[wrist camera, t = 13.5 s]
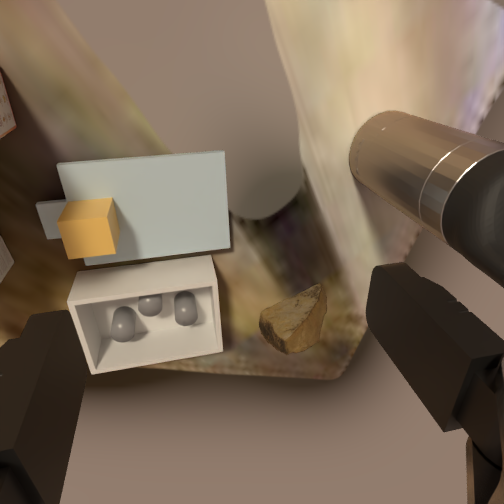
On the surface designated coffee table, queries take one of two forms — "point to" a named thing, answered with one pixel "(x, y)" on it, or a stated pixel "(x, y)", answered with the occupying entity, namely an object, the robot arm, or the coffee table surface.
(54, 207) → the lid
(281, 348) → the rock
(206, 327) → the tub
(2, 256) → the supplement box
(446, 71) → the coffee table surface
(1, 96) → the cracker box
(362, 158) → the robot arm
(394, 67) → the coffee table surface
